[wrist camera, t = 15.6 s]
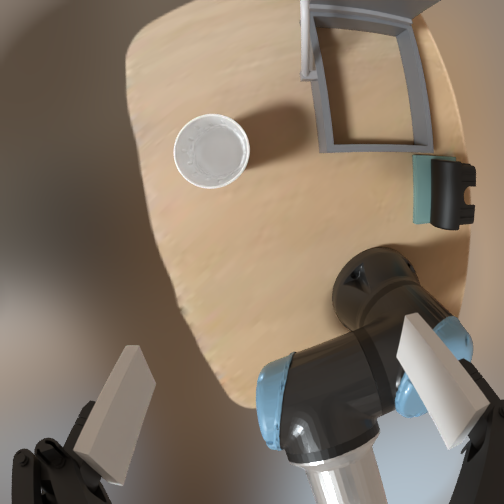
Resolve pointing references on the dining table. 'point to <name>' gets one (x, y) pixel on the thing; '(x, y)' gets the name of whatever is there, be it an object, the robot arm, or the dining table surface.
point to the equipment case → (377, 21)
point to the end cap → (451, 194)
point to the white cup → (211, 151)
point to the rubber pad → (423, 186)
